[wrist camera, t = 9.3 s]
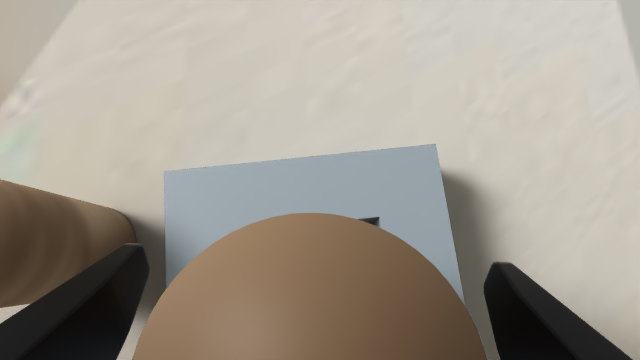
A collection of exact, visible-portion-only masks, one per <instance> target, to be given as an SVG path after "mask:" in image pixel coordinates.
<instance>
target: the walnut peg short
mask: <svg viewBox="0 0 640 360" xmlns="http://www.w3.org/2000/svg"><path fill="white" fill-rule="evenodd" d="M126 243H131V244H137V239H136V234H135V231H134V229H133V227H132V225H131V223H130V222H129V220H128V219H127V218H126V217H125V216H124V215H122V214H121V213H120V212H118V211H116V210H114V209H111V208H107V207H104V206H100V205H96V204H92V203H88V202H84V201H81V200H77V199H73V198H69V197H65V196H62V195H58V194H54V193H50V192H46V191H42V190H39V189H35V188H31V187H27V186H23V185H19V184H16V183H12V182H8V181H4V180H0V308H3V307H10V306H17V305H24V304H31V303H33V302H35V301H36V300H38V299H39V298H41V297H42V296H44V295H45V294H47V293H49V292H50V291H52V290H53V289H55V288H56V287H58V286H59V285H61V284H63V283H64V282H66V281H67V280H69V279H70V278H72V277H73V276H75V275H76V274H78V273H80V272H81V271H83V270H84V269H86V268H87V267H89V266H90V265H92V264H93V263H95V262H97V261H98V260H100V259H101V258H103V257H104V256H106V255H107V254H109V253H110V252H112V251H114V250H115V249H117V248H118V247H120V246H121V245H123V244H126Z"/></svg>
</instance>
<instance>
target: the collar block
mask: <svg viewBox="0 0 640 360" xmlns="http://www.w3.org/2000/svg"><path fill="white" fill-rule="evenodd" d="M164 199H165V256H166V289H167V288H168V286H169V285H170V284H171V282H172V281H173V280H174V278H175V277H176V276H177V275H178V274H179V273H180V272H181V271H182V270H183V269H184V268H185V267H186V266H187V265H188V264H189V263H190V262H191V261H192V259H194V258H195V257H196V256H197V255H199V254H200V253H201V252H202V251H204V250H205V249H206V248H207V247H209V246H210V245H211V244H213V243H215V242H216V241H218V240H219V239H221V238H223V237H224V236H226V235H228V234H229V233H231V232H233V231H235V230H238V229H240V228H242V227H244V226H246V225H249V224H251V223H254V222H258V221H261V220H264V219H267V218H270V217H275V216H281V215H287V214H293V213H325V214H336V215H341V216H345V217H350V218H354V219H358V220H361V221H364V222H367V223H369V224H372V225H375V226H378V227H380V228H382V229H384V230H386V231H387V232H389V233H391V234H393V235H395V236H397V237H399V238H400V239H402V240H403V241H405V242H406V243H408V244H409V245H410V246H412V247H413V248H415V249H416V250H418V251H419V252H420V253H421V254H422V255H423V256H424V257H425V258H426V259H428V260H429V261H430V262H431V263H432V264H433V265H434V266H435V267H436V268H437V269H438V270H439V271H440V273H441V274H442V275H443V276H444V277H445V278H446V279H447V281H448V282H449V283H450V284H451V286H452V287H453V289H454V290H455V292H456V293H457V294H458V296H459V297H460V299H461V300H462V302H463V303H464V305H465V302H464V296H463V291H462V285H461V280H460V274H459V269H458V263H457V258H456V252H455V247H454V241H453V236H452V230H451V225H450V219H449V214H448V209H447V203H446V198H445V192H444V187H443V181H442V176H441V170H440V165H439V159H438V154H437V148H436V144H430V145H420V146H410V147H400V148H390V149H381V150H371V151H361V152H351V153H341V154H331V155H321V156H312V157H302V158H292V159H282V160H272V161H262V162H252V163H243V164H233V165H223V166H213V167H203V168H193V169H183V170H174V171H164Z"/></svg>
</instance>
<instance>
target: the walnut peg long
mask: <svg viewBox="0 0 640 360" xmlns="http://www.w3.org/2000/svg"><path fill="white" fill-rule="evenodd" d="M132 360H486V356H485V352H484V348H483V345H482V343H481V340H480V337H479V335H478V332H477V329H476V327H475V324H474V322H473V321H472V319H471V317H470V315H469V313H468V311H467V309H466V307H465V305H464V303H463V302H462V300H461V299H460V297H459V296H458V294H457V293H456V292H455V290H454V289H453V287H452V286H451V284H450V283H449V282H448V281H447V279H446V278H445V277H444V276H443V275H442V274H441V273H440V271H439V270H438V269H437V268H436V267H435V266H434V265H433V264H432V263H431V262H430V261H429V260H428V259H426V258H425V257H424V256H423V255H422V254H421V253H420V252H419V251H418V250H416V249H415V248H413V247H412V246H410V245H409V244H408V243H406V242H405V241H403V240H402V239H400V238H399V237H397V236H395V235H393V234H391V233H389V232H387V231H386V230H384V229H382V228H380V227H378V226H375V225H372V224H369V223H367V222H364V221H361V220H358V219H354V218H350V217H345V216H341V215H336V214H325V213H293V214H287V215H281V216H275V217H270V218H267V219H264V220H261V221H258V222H254V223H251V224H249V225H246V226H244V227H242V228H240V229H238V230H235V231H233V232H231V233H229V234H228V235H226V236H224V237H223V238H221V239H219V240H218V241H216V242H215V243H213V244H211V245H210V246H209V247H207V248H206V249H205V250H204V251H202V252H201V253H200V254H199V255H197V256H196V257H195V258H194V259H192V261H191V262H190V263H189V264H188V265H187V266H186V267H185V268H184V269H183V270H182V271H181V272H180V273H179V274H178V275H177V276H176V277H175V278H174V280H173V281H172V282H171V284H170V285H169V286H168V288H167V289H166V290H165V291H164V293H163V294H162V295H161V297H160V299H159V300H158V302H157V304H156V305H155V307H154V309H153V310H152V312H151V314H150V316H149V317H148V320H147V322H146V324H145V326H144V329H143V331H142V333H141V335H140V338H139V340H138V343H137V346H136V349H135V353H134V356H133V359H132Z"/></svg>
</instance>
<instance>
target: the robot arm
mask: <svg viewBox="0 0 640 360" xmlns="http://www.w3.org/2000/svg"><path fill="white" fill-rule="evenodd" d="M148 276H149V264H148V261H147V257H146V254H145V251H144V248H143V246H142V245H141V244H131V243H126V244H123V245H121V246H120V247H118V248H117V249H115V250H114V251H112V252H110V253H109V254H107V255H106V256H104V257H103V258H101V259H100V260H98V261H97V262H95V263H93V264H92V265H90V266H89V267H87V268H86V269H84V270H83V271H81V272H80V273H78V274H76V275H75V276H73V277H72V278H70V279H69V280H67V281H66V282H64V283H63V284H61V285H59V286H58V287H56V288H55V289H53V290H52V291H50V292H49V293H47V294H45V295H44V296H42V297H41V298H39V299H38V300H36V301H35V302H33V303H32V304H30V305H28V306H27V307H25V308H24V309H22V310H21V311H19V312H18V313H16V314H15V315H13V316H11V317H10V318H8V319H7V320H5V321H4V322H2V323H1V324H0V360H116V359H117V357H118V355H119V353H120V351H121V348H122V346H123V344H124V342H125V340H126V338H127V335H128V333H129V331H130V328H131V325H132V323H133V320H134V317H135V314H136V311H137V308H138V305H139V302H140V299H141V296H142V293H143V290H144V288H145V285H146V282H147V279H148ZM484 295H485V300H486V304H487V308H488V312H489V317H490V321H491V325H492V330H493V334H494V338H495V342H496V346H497V350H498V353H499V356H500V359H501V360H633V359H631V358H630V357H629V356H628V355H626V354H625V353H624V352H623V351H621V350H620V349H619V348H618V347H616V346H615V345H614V344H612V343H611V342H610V341H609V340H607V339H606V338H605V337H604V336H602V335H601V334H600V333H599V332H597V331H596V330H595V329H594V328H592V327H591V326H590V325H589V324H587V323H586V322H585V321H584V320H582V319H581V318H580V317H579V316H577V315H576V314H575V313H574V312H572V311H571V310H570V309H569V308H567V307H566V306H565V305H564V304H562V303H561V302H560V301H558V300H557V299H556V298H555V297H553V296H552V295H551V294H550V293H548V292H547V291H546V290H545V289H543V288H542V287H541V286H540V285H538V284H537V283H536V282H535V281H533V280H532V279H531V278H530V277H528V276H527V275H526V274H525V273H523V272H522V271H521V270H520V269H518V268H517V267H516V266H515V265H513V264H512V263H509V262H494V263H493V264H492V265H491V268H490V270H489V273H488V275H487V278H486V280H485V283H484Z"/></svg>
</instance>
